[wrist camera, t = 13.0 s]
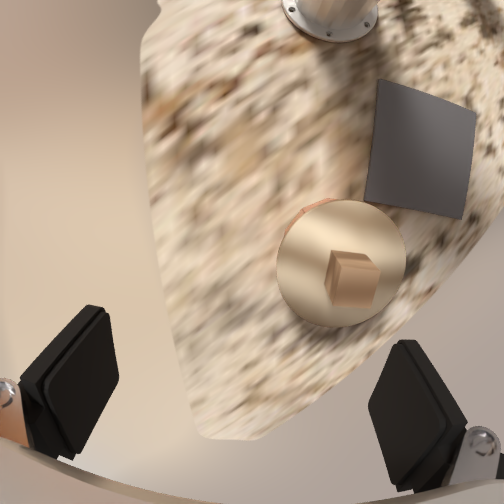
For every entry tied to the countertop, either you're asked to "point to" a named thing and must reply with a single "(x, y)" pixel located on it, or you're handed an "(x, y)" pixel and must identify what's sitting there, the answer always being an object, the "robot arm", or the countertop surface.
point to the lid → (340, 263)
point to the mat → (420, 151)
